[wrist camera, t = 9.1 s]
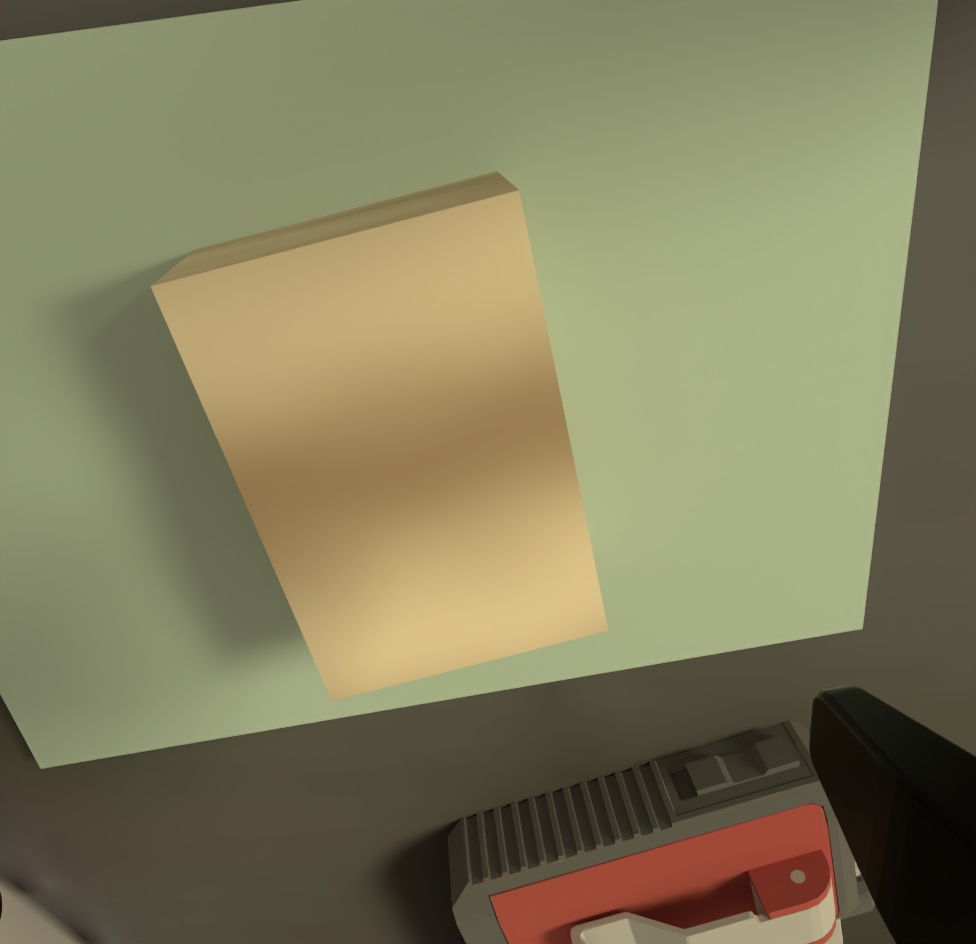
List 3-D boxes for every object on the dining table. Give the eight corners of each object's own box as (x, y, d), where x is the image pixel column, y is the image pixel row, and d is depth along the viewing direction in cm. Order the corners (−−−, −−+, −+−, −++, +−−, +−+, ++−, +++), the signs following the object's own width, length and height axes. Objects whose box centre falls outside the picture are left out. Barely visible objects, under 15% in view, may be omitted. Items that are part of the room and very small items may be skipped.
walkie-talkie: (483, 975, 28) (1032, 818, 27) (497, 1121, 24) (1140, 942, 23) (402, 816, 24) (1042, 627, 23) (402, 961, 20) (1174, 738, 19)
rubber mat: (931, -82, 14) (948, -87, 14) (852, 617, 22) (862, 628, 21) (-306, 85, 13) (-330, 85, 13) (48, 753, 21) (40, 768, 20)
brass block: (578, 553, 19) (608, 630, 16) (340, 614, 19) (331, 701, 16) (497, 170, 15) (519, 190, 12) (193, 249, 15) (150, 286, 12)
